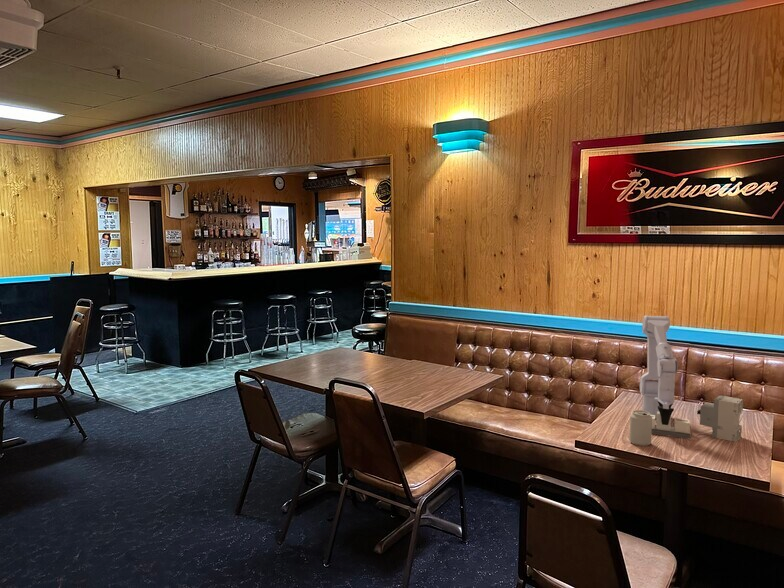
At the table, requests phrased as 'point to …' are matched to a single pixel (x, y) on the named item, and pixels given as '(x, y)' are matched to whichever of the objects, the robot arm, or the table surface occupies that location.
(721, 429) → the circuit breaker
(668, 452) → the table surface
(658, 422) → the block
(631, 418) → the can
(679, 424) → the rail plate
